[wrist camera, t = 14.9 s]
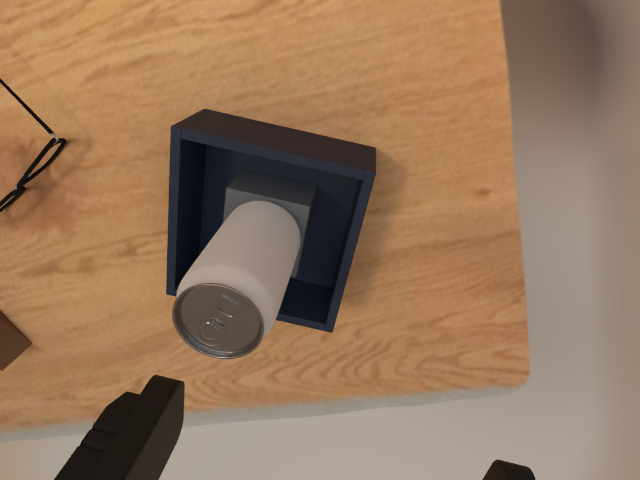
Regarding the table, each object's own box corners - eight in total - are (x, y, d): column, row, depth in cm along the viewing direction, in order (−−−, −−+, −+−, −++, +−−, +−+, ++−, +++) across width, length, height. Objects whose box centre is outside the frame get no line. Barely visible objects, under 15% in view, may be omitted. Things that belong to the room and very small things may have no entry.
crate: (375, 147, 38) (376, 172, 31) (338, 290, 45) (332, 333, 39) (204, 108, 38) (170, 126, 32) (194, 256, 45) (165, 294, 39)
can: (213, 240, 37) (148, 329, 26) (249, 183, 34) (193, 257, 23) (276, 279, 38) (238, 380, 27) (316, 227, 35) (291, 317, 24)
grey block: (317, 185, 39) (310, 206, 34) (304, 250, 42) (295, 277, 38) (242, 168, 39) (226, 187, 34) (235, 234, 42) (218, 260, 38)
